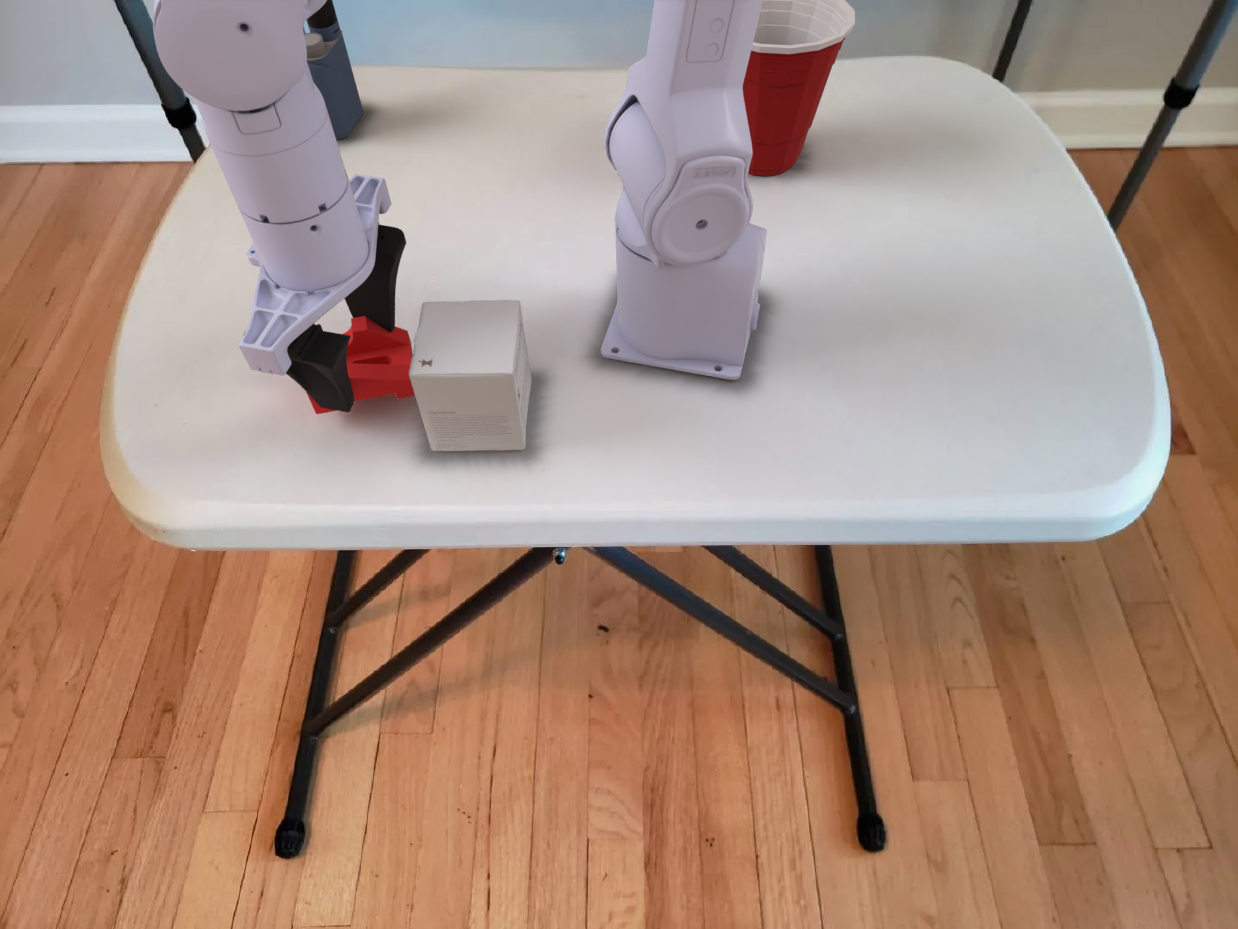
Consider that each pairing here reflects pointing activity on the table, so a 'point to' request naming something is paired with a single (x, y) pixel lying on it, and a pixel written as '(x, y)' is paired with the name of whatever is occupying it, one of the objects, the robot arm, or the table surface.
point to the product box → (472, 375)
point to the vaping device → (332, 70)
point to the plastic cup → (790, 76)
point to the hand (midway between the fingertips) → (358, 367)
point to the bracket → (376, 362)
